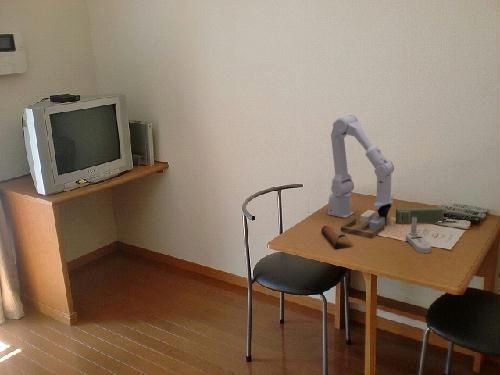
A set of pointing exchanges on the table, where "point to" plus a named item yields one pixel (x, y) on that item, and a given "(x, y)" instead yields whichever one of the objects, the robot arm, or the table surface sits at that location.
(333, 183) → the robot arm
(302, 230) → the table surface
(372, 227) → the light blue block
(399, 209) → the handheld radio
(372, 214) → the cream rectangular block
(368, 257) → the table surface
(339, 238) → the sunglasses case
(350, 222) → the rack
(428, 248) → the electronic device
